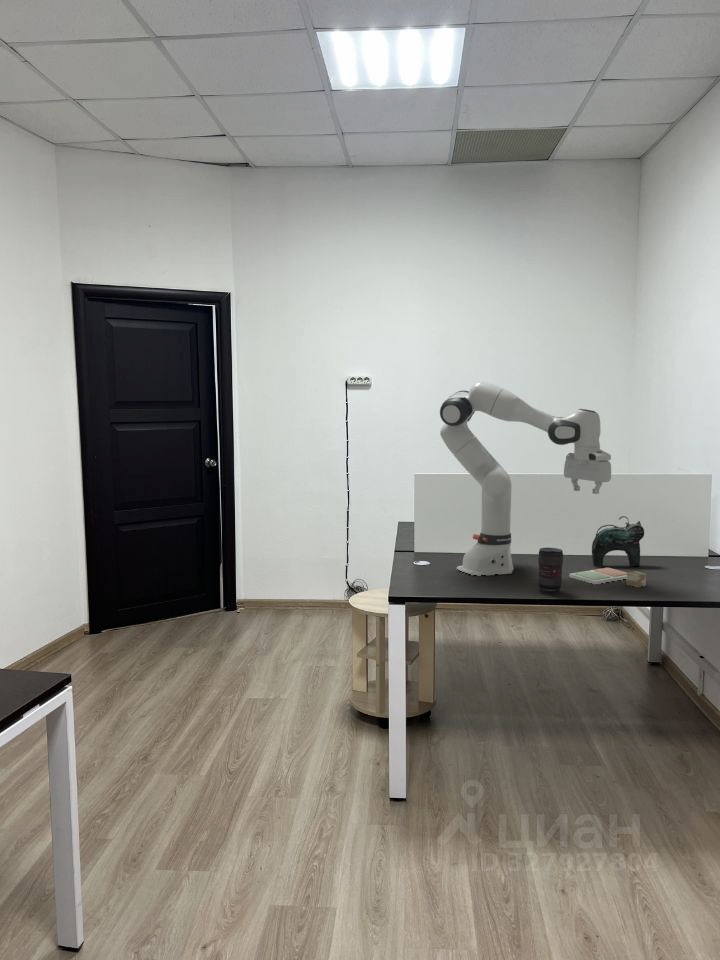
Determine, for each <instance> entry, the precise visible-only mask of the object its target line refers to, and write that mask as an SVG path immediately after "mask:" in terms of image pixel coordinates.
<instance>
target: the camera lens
mask: <svg viewBox="0 0 720 960" xmlns="http://www.w3.org/2000/svg"><path fill="white" fill-rule="evenodd" d="M563 563H564V553H563V549H561V548H557V547H540V548H539V551H538V575H537V584H538V589H539V592H540V593H541V594H543V593H544V595H551V594H552V595H558V594H560V591H561V588H562V584H563V583H562V582H563V581H562V580H563V579H562V577H563V576H562V575H563Z"/></svg>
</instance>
